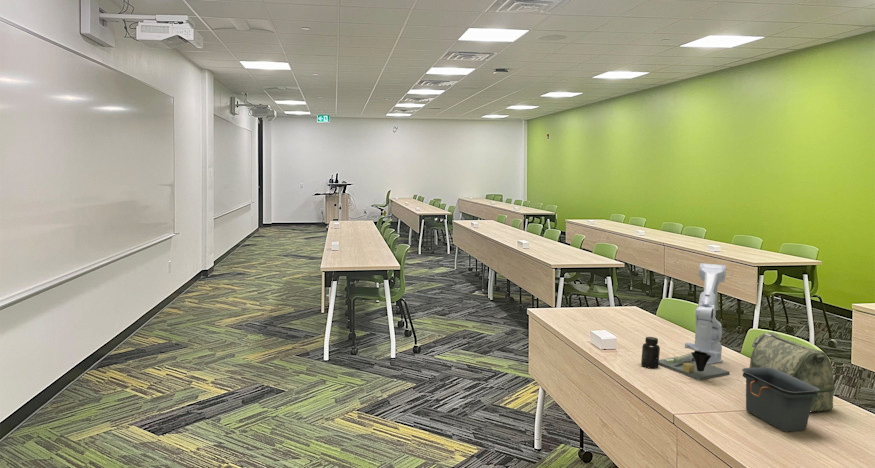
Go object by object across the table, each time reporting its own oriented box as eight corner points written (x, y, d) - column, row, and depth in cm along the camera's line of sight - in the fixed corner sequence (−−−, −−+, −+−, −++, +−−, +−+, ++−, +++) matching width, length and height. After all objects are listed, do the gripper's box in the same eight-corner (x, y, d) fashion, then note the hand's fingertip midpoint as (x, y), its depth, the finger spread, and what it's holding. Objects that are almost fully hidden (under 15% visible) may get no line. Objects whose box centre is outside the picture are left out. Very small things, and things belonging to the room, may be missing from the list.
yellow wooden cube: (687, 369, 229) (688, 362, 229) (693, 372, 227) (694, 364, 226) (682, 370, 228) (683, 363, 228) (688, 373, 225) (689, 365, 225)
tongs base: (683, 358, 249) (684, 348, 248) (729, 374, 229) (730, 363, 229) (654, 363, 240) (655, 352, 240) (699, 380, 221) (700, 368, 221)
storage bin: (821, 434, 176) (825, 389, 174) (778, 437, 172) (783, 391, 171) (767, 407, 196) (770, 366, 195) (728, 409, 193) (732, 368, 191)
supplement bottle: (659, 369, 232) (662, 341, 231) (642, 368, 234) (644, 339, 233) (656, 364, 239) (658, 336, 238) (639, 362, 240) (641, 335, 239)
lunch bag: (738, 387, 215) (743, 330, 213) (781, 385, 218) (786, 330, 216) (792, 415, 190) (798, 351, 188) (839, 413, 193) (846, 350, 191)
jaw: (688, 357, 242) (689, 353, 242) (693, 358, 241) (693, 354, 240) (673, 362, 234) (673, 358, 234) (677, 363, 232) (678, 359, 232)
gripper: (680, 333, 226) (677, 366, 227) (712, 342, 213) (710, 378, 214) (692, 331, 229) (690, 364, 230) (725, 340, 216) (722, 375, 217)
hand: (700, 370), depth 222 cm, fingers closed
